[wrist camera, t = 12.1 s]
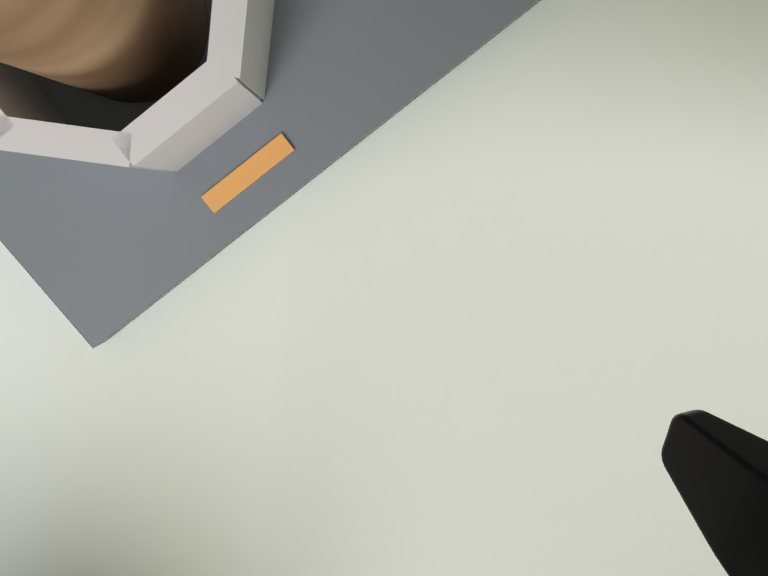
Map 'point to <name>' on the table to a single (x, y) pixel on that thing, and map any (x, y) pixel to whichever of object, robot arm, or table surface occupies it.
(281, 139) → the tool board
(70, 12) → the brown tall cylinder
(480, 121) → the table surface
